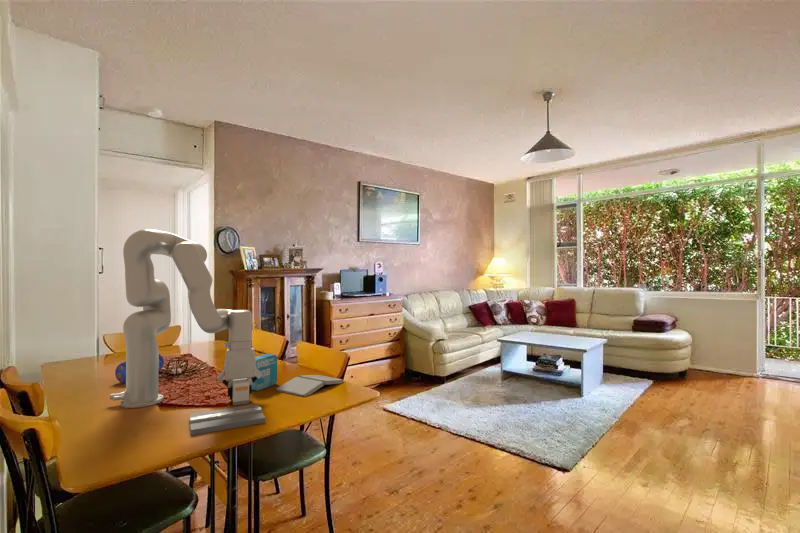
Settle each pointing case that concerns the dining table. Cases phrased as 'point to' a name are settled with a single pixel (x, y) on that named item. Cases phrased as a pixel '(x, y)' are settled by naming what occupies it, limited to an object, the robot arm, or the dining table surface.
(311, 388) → the grey bent flat piece
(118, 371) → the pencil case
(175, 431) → the dining table surface
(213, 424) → the rail board
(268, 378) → the data package
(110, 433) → the dining table surface
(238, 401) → the module
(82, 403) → the dining table surface
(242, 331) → the robot arm
